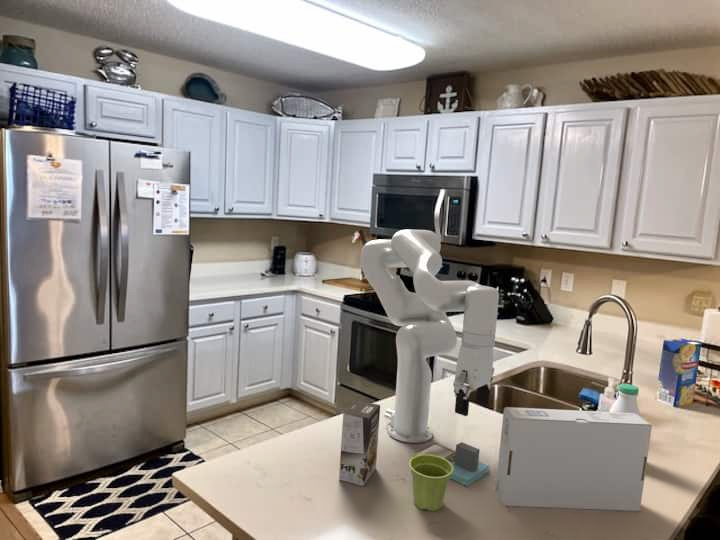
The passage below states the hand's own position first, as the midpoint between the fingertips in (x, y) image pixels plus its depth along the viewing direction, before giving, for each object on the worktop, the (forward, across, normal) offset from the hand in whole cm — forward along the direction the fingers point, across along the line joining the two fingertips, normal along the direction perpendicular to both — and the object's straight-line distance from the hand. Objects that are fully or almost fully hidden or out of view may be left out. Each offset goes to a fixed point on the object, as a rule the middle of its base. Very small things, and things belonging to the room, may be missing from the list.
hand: (472, 408), depth 120 cm
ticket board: (+16, 0, -8) cm, 18 cm away
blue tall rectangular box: (+16, -102, +25) cm, 106 cm away
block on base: (+16, 0, 0) cm, 16 cm away
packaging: (+17, -7, +21) cm, 28 cm away
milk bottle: (+17, -39, +24) cm, 49 cm away
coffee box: (+16, +20, -17) cm, 31 cm away
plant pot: (+17, +17, +1) cm, 24 cm away
